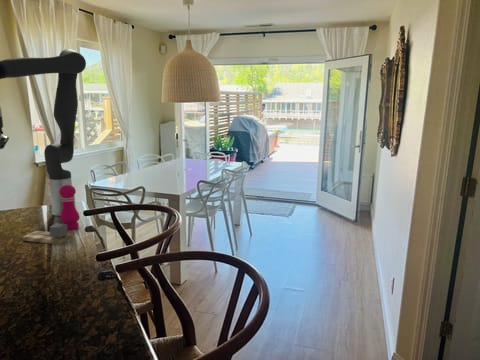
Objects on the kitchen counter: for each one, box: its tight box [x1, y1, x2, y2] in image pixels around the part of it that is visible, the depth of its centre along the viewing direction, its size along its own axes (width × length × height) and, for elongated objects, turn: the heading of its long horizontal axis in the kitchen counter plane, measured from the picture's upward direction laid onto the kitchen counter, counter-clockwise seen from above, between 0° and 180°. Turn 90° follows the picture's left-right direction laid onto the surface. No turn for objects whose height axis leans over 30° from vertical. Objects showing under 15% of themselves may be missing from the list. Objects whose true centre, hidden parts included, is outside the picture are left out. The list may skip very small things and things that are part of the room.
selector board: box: [22, 230, 73, 245], centre depth 135 cm, size 16×7×2 cm, turn 78°
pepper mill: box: [59, 182, 80, 231], centre depth 146 cm, size 7×7×20 cm
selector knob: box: [49, 222, 69, 238], centre depth 133 cm, size 4×4×4 cm
